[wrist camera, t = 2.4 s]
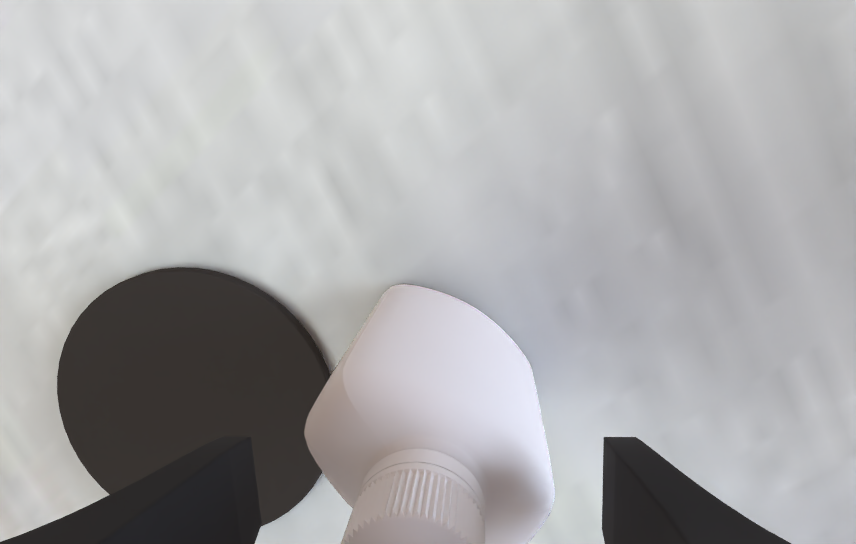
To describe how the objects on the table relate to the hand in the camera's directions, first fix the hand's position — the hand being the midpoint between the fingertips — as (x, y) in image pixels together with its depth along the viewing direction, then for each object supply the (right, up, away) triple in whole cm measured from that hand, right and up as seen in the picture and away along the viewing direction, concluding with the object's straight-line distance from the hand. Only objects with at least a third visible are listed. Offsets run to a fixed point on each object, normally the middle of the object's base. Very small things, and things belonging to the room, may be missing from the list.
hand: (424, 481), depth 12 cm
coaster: (-8, 0, +9) cm, 12 cm away
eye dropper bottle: (+1, +2, +8) cm, 8 cm away
